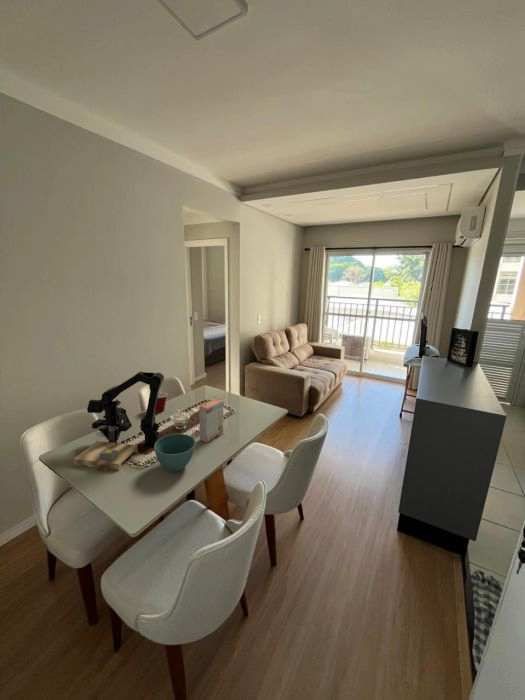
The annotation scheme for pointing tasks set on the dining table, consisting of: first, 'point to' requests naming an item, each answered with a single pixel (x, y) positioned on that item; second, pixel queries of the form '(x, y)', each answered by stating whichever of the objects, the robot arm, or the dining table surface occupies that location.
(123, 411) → the phone stand
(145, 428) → the robot arm
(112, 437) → the bottle
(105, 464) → the wooden board
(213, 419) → the cracker box
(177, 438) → the teal bowl
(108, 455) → the stud finder
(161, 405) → the plastic cup
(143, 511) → the dining table surface
